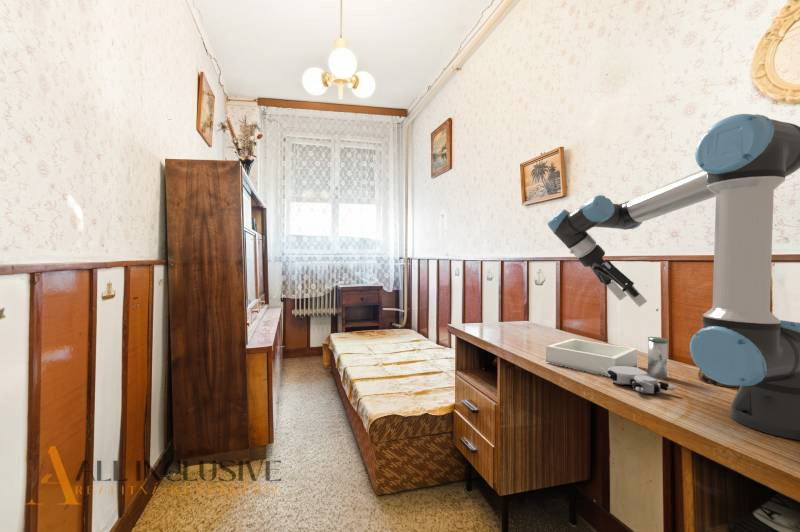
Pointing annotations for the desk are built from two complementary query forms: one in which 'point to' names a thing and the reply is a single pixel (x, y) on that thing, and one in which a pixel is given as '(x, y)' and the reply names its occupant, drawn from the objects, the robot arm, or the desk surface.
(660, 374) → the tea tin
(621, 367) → the robot toy
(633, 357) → the bin
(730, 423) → the desk surface
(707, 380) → the bread roll
